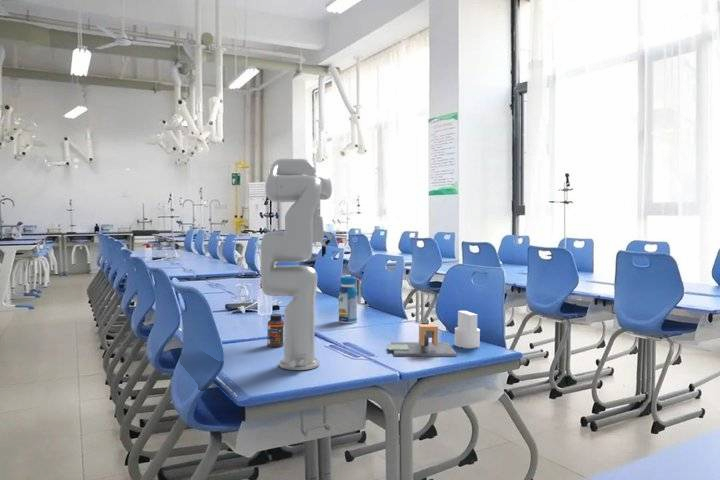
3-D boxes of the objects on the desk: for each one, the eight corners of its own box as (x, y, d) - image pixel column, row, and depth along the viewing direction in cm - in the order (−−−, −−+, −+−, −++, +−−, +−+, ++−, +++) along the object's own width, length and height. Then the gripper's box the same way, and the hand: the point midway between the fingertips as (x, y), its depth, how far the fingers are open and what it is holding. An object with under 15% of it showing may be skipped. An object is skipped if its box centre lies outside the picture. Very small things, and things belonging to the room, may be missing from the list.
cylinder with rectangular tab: (450, 343, 205) (450, 311, 205) (471, 341, 208) (471, 310, 208) (462, 349, 197) (463, 315, 196) (484, 347, 200) (485, 314, 199)
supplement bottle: (268, 348, 197) (268, 316, 196) (266, 344, 202) (266, 313, 202) (285, 347, 198) (285, 315, 198) (282, 343, 204) (282, 312, 203)
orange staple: (437, 345, 189) (437, 326, 188) (420, 345, 189) (420, 326, 188) (435, 343, 193) (436, 324, 192) (418, 343, 193) (418, 324, 192)
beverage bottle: (357, 323, 240) (357, 278, 240) (337, 323, 241) (337, 278, 240) (357, 320, 249) (357, 276, 248) (338, 319, 249) (339, 275, 248)
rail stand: (456, 356, 186) (456, 330, 186) (390, 356, 186) (390, 329, 186) (448, 345, 202) (448, 320, 202) (386, 345, 202) (387, 320, 202)
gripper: (287, 212, 213) (287, 257, 214) (332, 213, 213) (332, 257, 214) (289, 212, 221) (289, 255, 221) (333, 213, 221) (332, 255, 222)
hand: (310, 256), depth 218 cm, fingers open, 9 cm apart
